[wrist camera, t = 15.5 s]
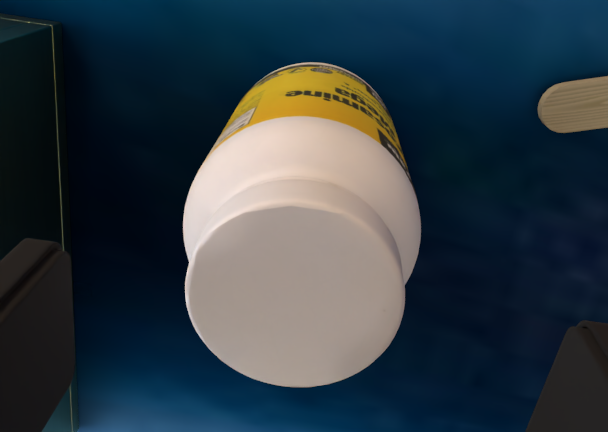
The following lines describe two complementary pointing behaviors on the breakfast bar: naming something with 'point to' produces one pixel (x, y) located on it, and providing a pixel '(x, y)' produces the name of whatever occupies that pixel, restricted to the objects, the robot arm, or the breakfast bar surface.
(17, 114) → the bin
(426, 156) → the breakfast bar surface
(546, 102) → the ice cream bar
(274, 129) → the pill bottle
